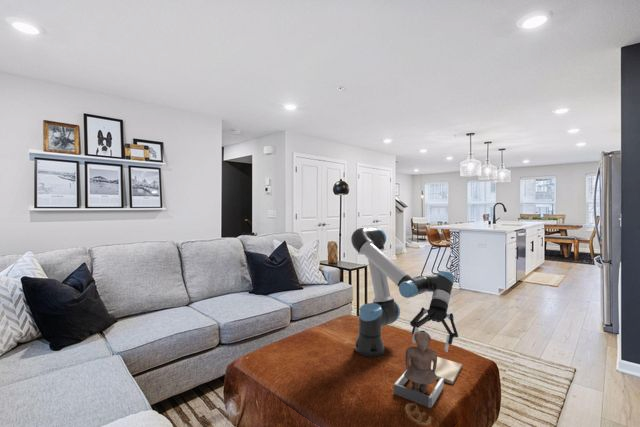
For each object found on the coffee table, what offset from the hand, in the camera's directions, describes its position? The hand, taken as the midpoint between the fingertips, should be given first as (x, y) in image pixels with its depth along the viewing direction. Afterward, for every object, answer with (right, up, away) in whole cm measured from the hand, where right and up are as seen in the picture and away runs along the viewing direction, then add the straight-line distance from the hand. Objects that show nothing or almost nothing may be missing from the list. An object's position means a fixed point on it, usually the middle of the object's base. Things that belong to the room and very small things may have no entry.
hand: (429, 346), depth 135 cm
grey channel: (-5, -17, -2) cm, 18 cm away
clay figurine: (-5, -17, -2) cm, 18 cm away
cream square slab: (+10, -17, +15) cm, 24 cm away
